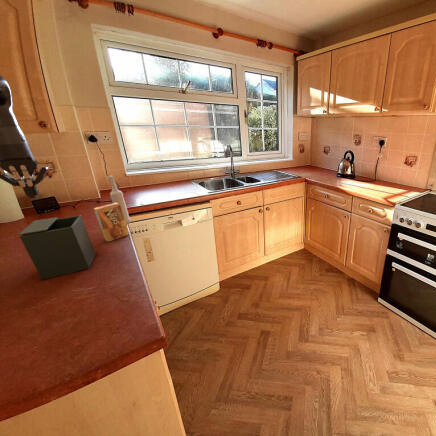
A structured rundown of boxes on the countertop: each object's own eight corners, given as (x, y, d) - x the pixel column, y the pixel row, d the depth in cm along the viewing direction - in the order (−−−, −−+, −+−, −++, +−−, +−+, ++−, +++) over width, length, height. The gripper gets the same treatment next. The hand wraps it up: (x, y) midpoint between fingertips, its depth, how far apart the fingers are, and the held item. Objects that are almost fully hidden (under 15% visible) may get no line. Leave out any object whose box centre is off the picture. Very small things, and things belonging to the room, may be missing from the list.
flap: (19, 235, 76) (18, 234, 76) (34, 221, 87) (34, 220, 87) (45, 230, 79) (45, 229, 79) (57, 218, 90) (57, 217, 89)
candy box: (125, 232, 116) (116, 202, 110) (129, 234, 114) (120, 203, 108) (104, 239, 110) (93, 208, 104) (108, 242, 107) (96, 209, 102)
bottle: (119, 225, 124) (103, 177, 115) (119, 222, 128) (104, 175, 119) (131, 223, 127) (116, 176, 117) (131, 220, 131) (117, 174, 121)
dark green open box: (41, 279, 83) (19, 236, 76) (53, 262, 93) (35, 222, 87) (89, 268, 88) (71, 227, 82) (95, 252, 99) (80, 215, 93)
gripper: (42, 140, 80) (63, 191, 86) (-15, 143, 74) (11, 197, 80) (33, 141, 73) (56, 196, 80) (-30, 144, 68) (0, 203, 74)
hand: (34, 197), depth 80 cm, fingers closed
